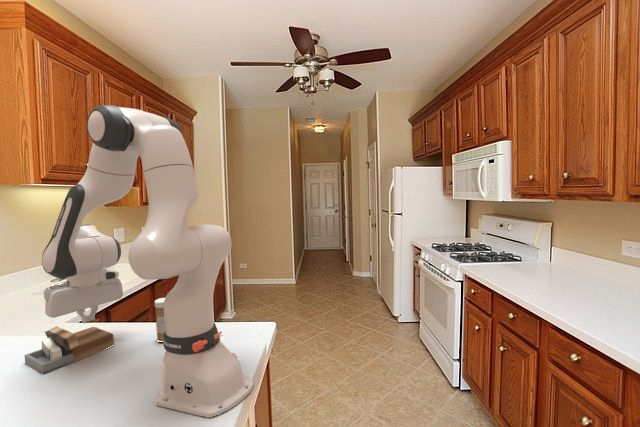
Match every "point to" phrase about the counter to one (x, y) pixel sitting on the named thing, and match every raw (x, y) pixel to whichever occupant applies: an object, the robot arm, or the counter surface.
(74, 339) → the tan wooden bar
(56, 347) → the tile
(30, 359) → the tray
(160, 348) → the counter surface
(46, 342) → the tile
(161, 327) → the sprinkles bottle
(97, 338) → the board
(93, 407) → the counter surface
